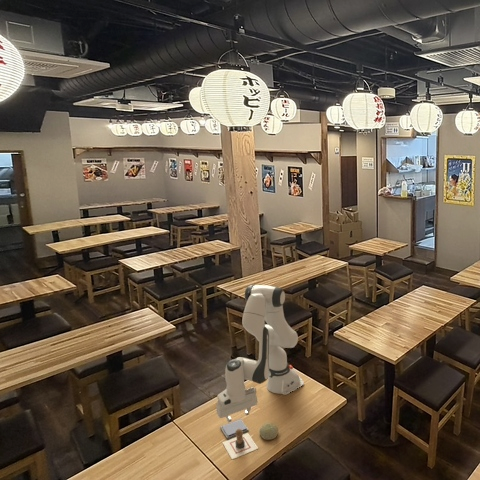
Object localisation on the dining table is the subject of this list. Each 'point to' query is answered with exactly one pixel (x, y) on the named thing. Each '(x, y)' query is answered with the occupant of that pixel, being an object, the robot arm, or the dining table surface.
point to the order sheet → (236, 452)
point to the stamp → (239, 439)
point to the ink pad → (233, 428)
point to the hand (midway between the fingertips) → (238, 417)
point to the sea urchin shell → (268, 431)
